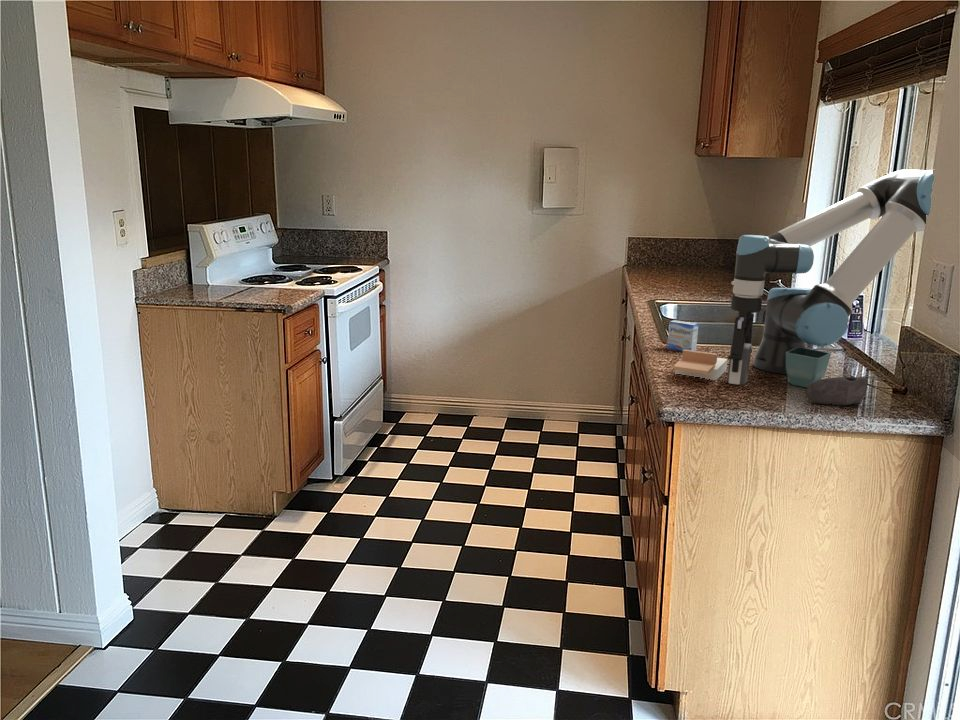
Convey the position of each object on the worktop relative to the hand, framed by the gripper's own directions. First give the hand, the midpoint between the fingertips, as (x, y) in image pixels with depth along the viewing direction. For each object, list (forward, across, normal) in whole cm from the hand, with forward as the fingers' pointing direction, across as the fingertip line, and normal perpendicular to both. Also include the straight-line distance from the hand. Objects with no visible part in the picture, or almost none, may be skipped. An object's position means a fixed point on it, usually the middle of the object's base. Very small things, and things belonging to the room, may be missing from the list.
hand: (737, 379), depth 214 cm
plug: (0, 0, 0) cm, 0 cm away
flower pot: (+1, -6, +16) cm, 17 cm away
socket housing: (0, -4, -10) cm, 11 cm away
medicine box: (+1, -28, -22) cm, 36 cm away
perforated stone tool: (+1, +8, +25) cm, 26 cm away
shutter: (-3, +4, -10) cm, 12 cm away
